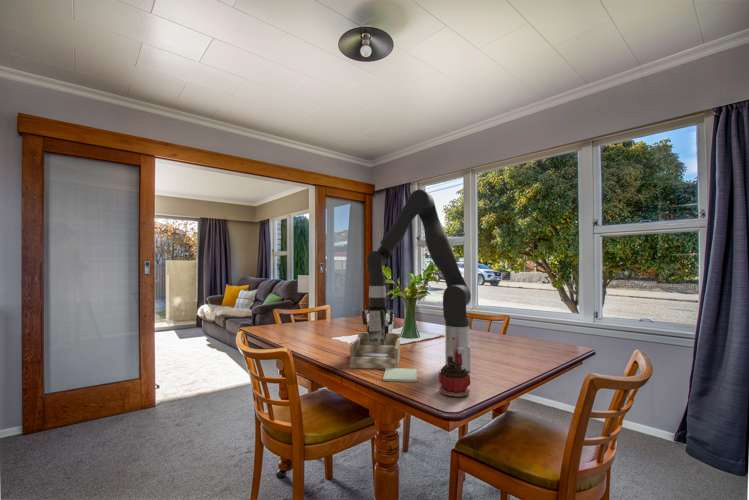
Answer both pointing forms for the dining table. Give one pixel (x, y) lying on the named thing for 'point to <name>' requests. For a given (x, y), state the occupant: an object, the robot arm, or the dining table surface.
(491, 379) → the dining table surface
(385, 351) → the crate
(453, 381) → the red potted plant
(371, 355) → the offcut upper
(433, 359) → the dining table surface
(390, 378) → the mat
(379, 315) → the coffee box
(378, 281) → the robot arm
